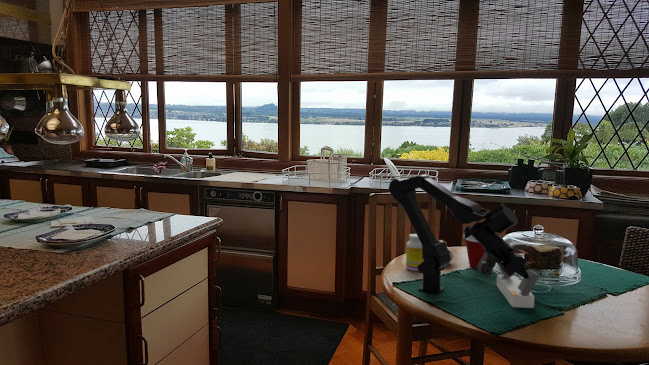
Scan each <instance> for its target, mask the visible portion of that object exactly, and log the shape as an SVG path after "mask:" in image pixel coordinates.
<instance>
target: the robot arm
mask: <svg viewBox="0 0 649 365" xmlns="http://www.w3.org/2000/svg"><path fill="white" fill-rule="evenodd" d="M417 189H421V190H422V191H423V192H425V193H426V194H428V195H429V196H430V197H432V198H434V199H435V200H437V201H438V202H439V203H441V204H442V205H443V206H445V207H446V208H448V209H449V210H450V212H451V214H452V216H453V217H454V218H455V219H456V220H457V221H458V222H460V223H461V224H463V225H466V226H465V227H464V235H465V236H464V235H463V239H464V238H468V237H469V236H471V235H472V236H473V237H474V238H475V239H476V240H477V241H478V242H479V243H480V244H481V245H482V246H483V247H484V248H483V249H484V250H485V251H486V252H485V253H484V255H483V256H482V258H481V260H480V262H479V263H478V265H477V268H478V269H477V268H476V269H477V270H478V271H479V272H481V273H482V274H483V275H484V276H488V277H489V276H491V275H492V272H493V270H494V268H495V266H496V264H497V265H498V264H499V263H500V265H501V266H502V269H503V270H504V271H505V272H506V273H507V274H508V275H509V276H514V274H517V275H519V276H521V277H522V278H525V279H527V278H528V277H529V276H528V273H527V271H528V270H527V268H526V266H525V265H526V264H527V262H528V261H527V260H526V259H525V258H524V257H523V256H522V255H521V254H520V253H518V252H517V251H515V249H513V247H512V245H510V244H509V243H508V242H507V241H506V240H504V239H503V237H502V236H501V235H500V234H502V233H504V232H506V231H507V230H509V229H511V228H512V227H513V226H515V225H517V224H518V223H519V220H518V217H517V215H516V213H515V212H514V211H512V209H510V208H509V207H507V206H506V205H505V204H504V203H500V204H499V205H497V206H496V207H495V208H494V209H492V210H489V209H485V208H483V207H482V206H481V205H480V204H479V203H477V202H475V201H473V200H471V199H468V198H464V197H461V196H459V195H457V194H455V193H454V192H452V190H449V189H448V188H446V187H445V186H443V185H442V184H440V183H439V182H438V181H436V180H434V179H433V178H431V176H429V175H428V174H425V173H424V174H419V175H416V176H412V177H402V178H395V179H391V181H390V183H389V184H388V192H389V193H390V195H391V196H392V198H393V199H394V200H395V202H397V203H398V204H400V205H401V206H402V208H403V211H405V214H406V216H407V218H408V220H409V222H410V224H411V226H412V228H413V230H414V232H415V234H417V236H418V238H419V240H420V242H421V244H422V256H423V259H424V261H423V262H422V263H421V264H420V265H418V266H417V268H418V271H417V272H418V273H419V274H422V285H421V286H420V287H418V288H417V289H418V291H419V292H420V291H421V292H425V293H428V294H434V295H438V294H440V293H441V292H442V291H443V290H445V286H442V285H441V284H442V283H441V281H442V271H445V270H446V267H447V266H448V265H450V263H451V261H452V260H451V256H450V254H449V253H451V252H450V251H449V250H448V248H449V247H448V246H447V244H446V243H447V242H446V241H444V242H441V243H440V242H439V241H440V240H439V239H437V238H436V237H435V235H434V233H433V231H432V228H431V226H430V225H429V222H428V221H427V219H426V217H425V215H424V213H423V211H422V209H421V206H420V205H419V204H418V200H417ZM474 222H475V223H474ZM471 223H474V224H473V225H470V226H467V225H469V224H471ZM436 239H437V240H436ZM438 240H439V241H438ZM445 242H446V243H445ZM447 247H448V248H447ZM450 260H451V261H450Z"/></svg>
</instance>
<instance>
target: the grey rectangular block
mask: <svg viewBox="0 0 649 365" xmlns="http://www.w3.org/2000/svg"><path fill="white" fill-rule="evenodd" d="M526 271H527V273H528V276H529V277H528V278H527V279H525V278H524V277H522V279H521V280H520V281H521V283H520V284H519V286H518V289H519V290H520V291H521V292H522V293H524V294H526V295H529V293H530V292H531V293H532V290H533V288H534V286H535V285H536V284H537V282H538V280H539V278H540V277H541V276H540V275H539V274H538V273H537V272H535V271H534V270H532V269H530V268H528V270H526Z"/></svg>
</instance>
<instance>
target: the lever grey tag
mask: <svg viewBox="0 0 649 365" xmlns="http://www.w3.org/2000/svg"><path fill="white" fill-rule="evenodd" d="M497 266H498V267H499V268H498V269H499V270H500V272H501V275H502V276H504V277H505V278H506V279H508V278H510V277H512V276H513V275H512V276H509V275H508V274H507V273H506V272H505V271H504V270H503V269H502V266H501V265H500V263H499V264H497Z"/></svg>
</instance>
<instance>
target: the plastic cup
mask: <svg viewBox="0 0 649 365" xmlns="http://www.w3.org/2000/svg"><path fill="white" fill-rule="evenodd" d="M464 236H465V234H463V239H464V242H465V246H466V252H467V259H468V264H469V267H470V268H473V269H477V270H478V268H477V265H478V263H479V262H480V260H481V258H482V256H483V255H484V253H485V252H486V251H485V250H484V249H483V248H484V247H483V246H482V245H481V244H480V243H479V242H478V241H477V240H476V239H475V238H474V237H473V236H472V235H471V236H469V237H468V238H464Z"/></svg>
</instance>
